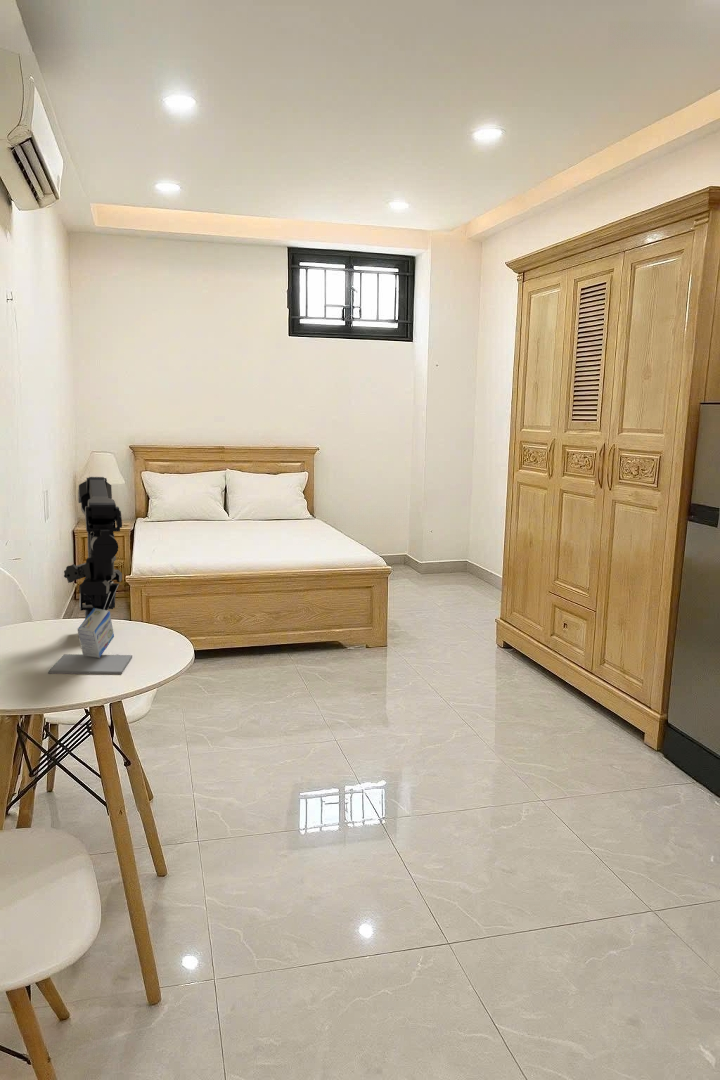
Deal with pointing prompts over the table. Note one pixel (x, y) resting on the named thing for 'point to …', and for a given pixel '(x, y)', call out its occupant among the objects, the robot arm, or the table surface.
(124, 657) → the mat
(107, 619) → the medicine box
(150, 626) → the table surface
